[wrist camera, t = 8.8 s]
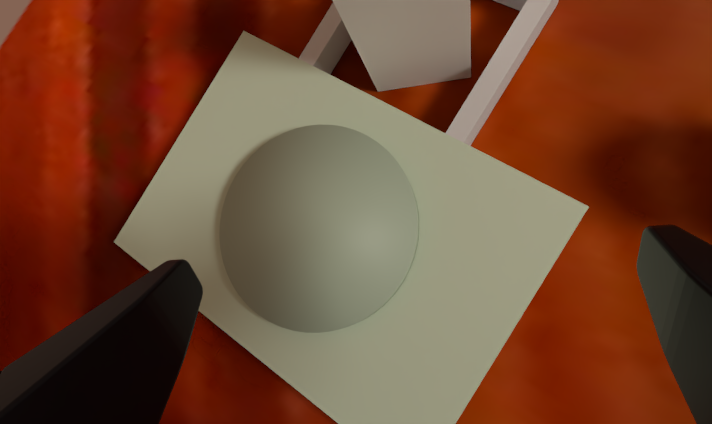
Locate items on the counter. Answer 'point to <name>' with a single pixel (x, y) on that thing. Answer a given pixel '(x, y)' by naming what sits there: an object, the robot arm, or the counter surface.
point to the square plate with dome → (354, 228)
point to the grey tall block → (410, 39)
